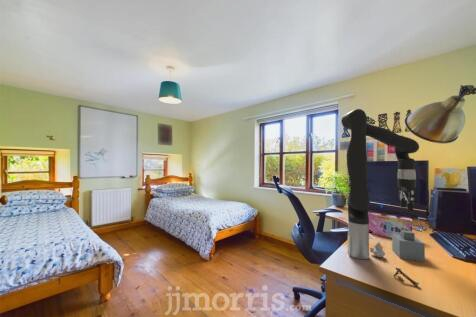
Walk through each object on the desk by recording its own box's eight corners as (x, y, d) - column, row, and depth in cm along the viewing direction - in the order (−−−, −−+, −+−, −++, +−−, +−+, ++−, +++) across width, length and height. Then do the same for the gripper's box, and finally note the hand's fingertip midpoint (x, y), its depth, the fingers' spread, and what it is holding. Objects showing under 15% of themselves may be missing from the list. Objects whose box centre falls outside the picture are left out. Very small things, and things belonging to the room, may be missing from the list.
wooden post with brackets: (392, 273, 87) (397, 265, 86) (413, 290, 81) (419, 282, 80) (390, 274, 87) (395, 266, 85) (411, 292, 80) (417, 283, 79)
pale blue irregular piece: (383, 260, 102) (383, 243, 102) (368, 255, 106) (368, 240, 106) (386, 256, 105) (386, 241, 105) (371, 252, 110) (371, 237, 110)
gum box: (414, 239, 131) (414, 218, 131) (412, 242, 126) (412, 220, 126) (370, 230, 148) (370, 211, 149) (367, 232, 143) (367, 213, 143)
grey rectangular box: (399, 258, 104) (399, 233, 104) (392, 250, 114) (392, 227, 114) (424, 261, 101) (424, 236, 101) (415, 253, 110) (414, 229, 110)
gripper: (393, 177, 116) (393, 205, 116) (403, 178, 103) (403, 211, 102) (409, 177, 114) (409, 207, 113) (422, 179, 100) (422, 212, 100)
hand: (406, 209), depth 108 cm, fingers open, 8 cm apart
